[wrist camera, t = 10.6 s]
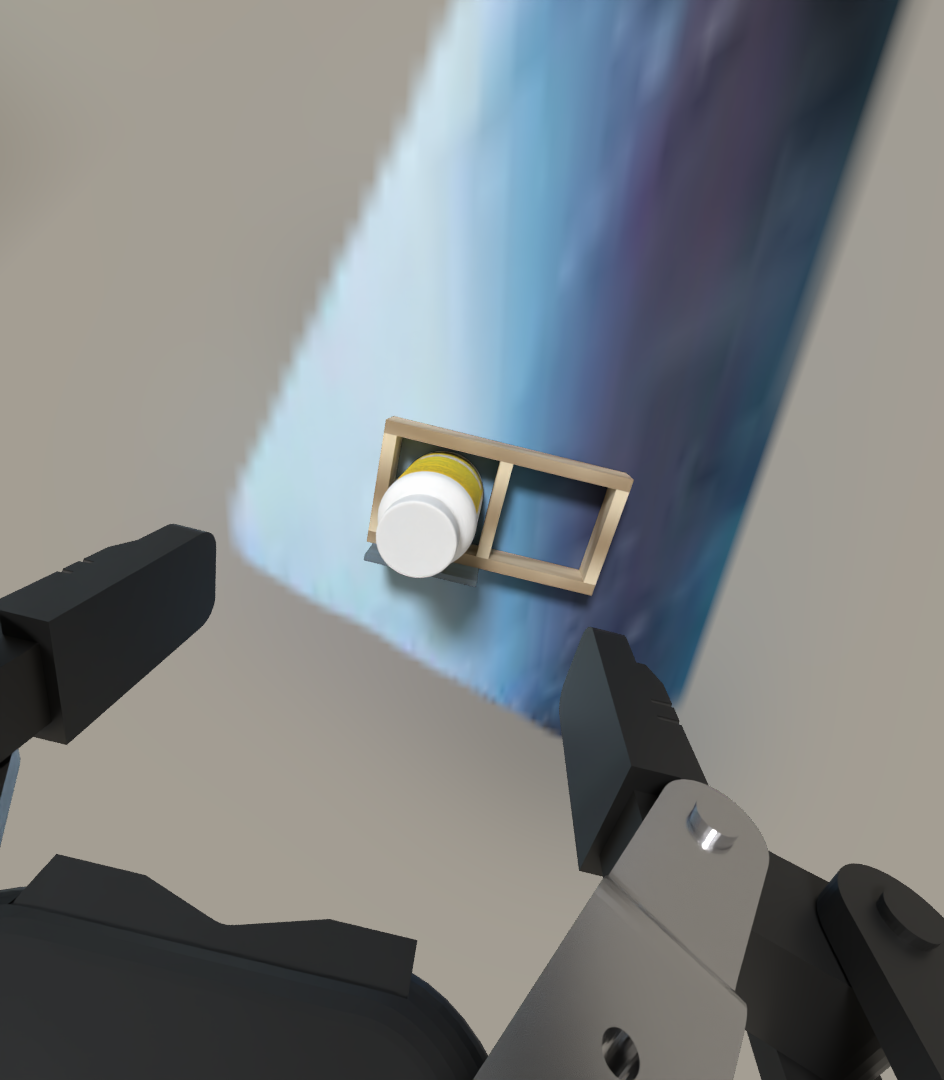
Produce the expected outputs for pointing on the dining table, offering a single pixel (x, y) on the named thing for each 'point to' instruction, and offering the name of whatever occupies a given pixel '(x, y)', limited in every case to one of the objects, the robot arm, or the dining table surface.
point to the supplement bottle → (429, 514)
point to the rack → (508, 455)
